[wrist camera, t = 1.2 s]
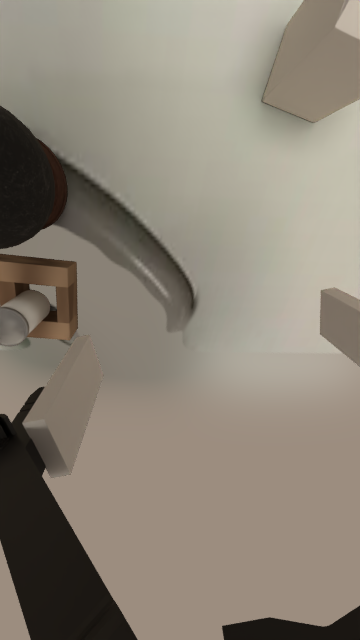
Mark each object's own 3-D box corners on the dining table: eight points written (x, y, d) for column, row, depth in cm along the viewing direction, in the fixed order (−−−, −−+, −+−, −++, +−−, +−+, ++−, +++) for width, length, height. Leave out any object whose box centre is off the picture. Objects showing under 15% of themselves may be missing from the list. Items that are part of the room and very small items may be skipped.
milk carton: (314, 123, 34) (479, 37, 16) (260, 101, 32) (377, -16, 15) (343, 51, 31) (575, -143, 14) (286, 24, 30) (462, -225, 12)
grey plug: (18, 319, 36) (-14, 344, 29) (14, 287, 34) (-20, 307, 28) (51, 321, 36) (28, 347, 30) (50, 290, 35) (24, 311, 28)
